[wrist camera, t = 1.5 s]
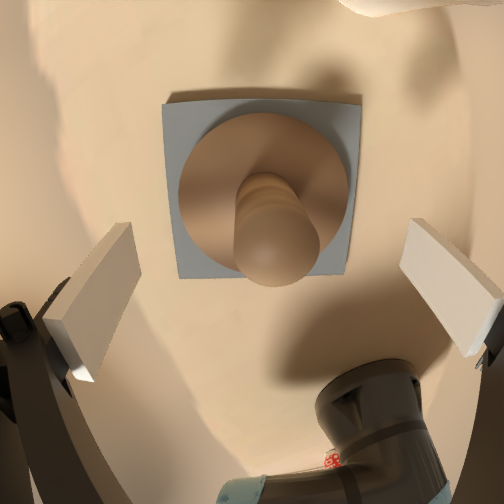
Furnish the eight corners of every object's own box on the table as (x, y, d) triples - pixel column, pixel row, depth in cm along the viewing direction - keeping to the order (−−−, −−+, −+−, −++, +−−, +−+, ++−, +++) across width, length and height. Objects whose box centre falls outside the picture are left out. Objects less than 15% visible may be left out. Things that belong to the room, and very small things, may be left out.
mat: (340, 268, 25) (343, 274, 25) (181, 272, 25) (179, 278, 24) (356, 105, 19) (361, 105, 18) (165, 104, 19) (161, 104, 18)
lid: (334, 264, 24) (370, 335, 16) (189, 268, 24) (169, 344, 16) (347, 117, 19) (411, 128, 11) (176, 116, 18) (132, 123, 11)
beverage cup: (341, 444, 44) (355, 507, 31) (354, 449, 46) (368, 507, 34) (313, 455, 45) (323, 516, 33) (328, 460, 48) (339, 516, 35)
